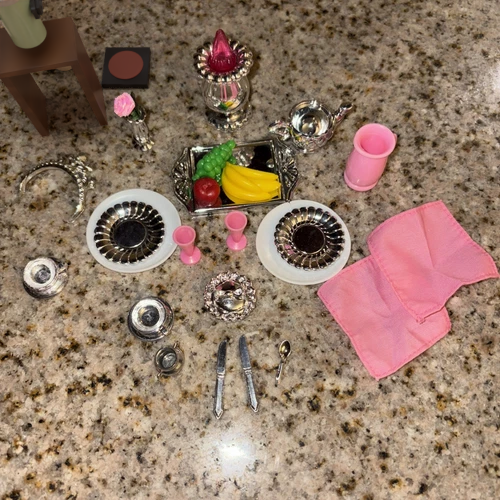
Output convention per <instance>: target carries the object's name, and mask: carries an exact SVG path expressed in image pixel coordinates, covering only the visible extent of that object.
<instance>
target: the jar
mask: <svg viewBox="0 0 500 500" xmlns="http://www.w3.org/2000/svg"><path fill="white" fill-rule="evenodd" d="M42 21H43V20H42V18H41V17H40V19H35V17H34V15H33V13H32V11H31V7H30V0H0V23H1V24H2V26H3V28H5V30H6V31H7V33H8V35H9V36H10V38H11V39H12V41H13V43H14V44H15V45H17V46H18V47H21V48H33V47H36V46H38V45H39V44H41V43H42V42H43V41H44V39H45V37H46V33H47V32H46V28H45V26H44V24H43V22H42Z"/></svg>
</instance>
